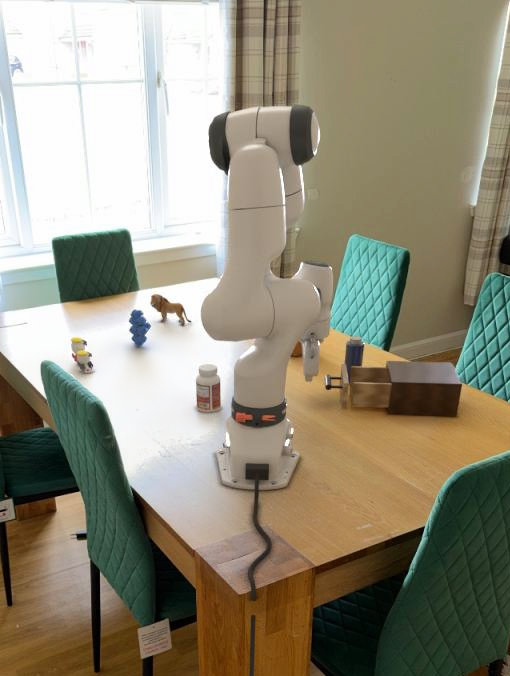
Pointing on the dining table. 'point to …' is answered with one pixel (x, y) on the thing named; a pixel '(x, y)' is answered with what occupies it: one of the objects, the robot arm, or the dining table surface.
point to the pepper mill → (353, 354)
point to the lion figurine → (167, 308)
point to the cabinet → (423, 388)
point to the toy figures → (81, 354)
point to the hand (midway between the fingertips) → (308, 379)
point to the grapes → (138, 327)
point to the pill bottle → (208, 388)
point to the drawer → (363, 386)
